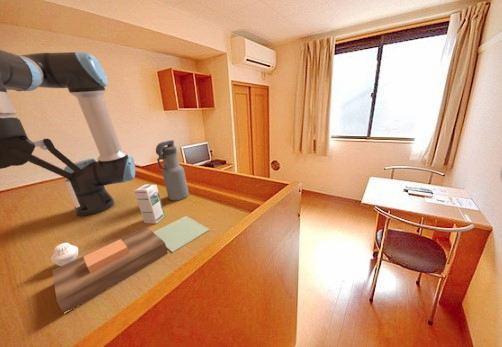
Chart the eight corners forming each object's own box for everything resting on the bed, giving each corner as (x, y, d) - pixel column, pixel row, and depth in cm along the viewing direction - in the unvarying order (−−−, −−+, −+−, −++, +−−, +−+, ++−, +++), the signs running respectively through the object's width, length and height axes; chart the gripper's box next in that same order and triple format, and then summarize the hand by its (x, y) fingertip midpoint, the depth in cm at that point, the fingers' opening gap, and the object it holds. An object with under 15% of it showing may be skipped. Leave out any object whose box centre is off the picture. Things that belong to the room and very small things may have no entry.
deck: (58, 282, 53) (52, 270, 51) (149, 236, 69) (146, 226, 68) (64, 315, 44) (56, 301, 42) (167, 253, 60) (164, 242, 59)
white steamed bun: (75, 254, 63) (67, 236, 61) (86, 258, 61) (78, 239, 59) (51, 268, 58) (41, 249, 56) (62, 273, 56) (52, 253, 53)
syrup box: (156, 223, 77) (147, 189, 72) (143, 223, 78) (133, 189, 73) (165, 216, 82) (157, 183, 77) (153, 215, 83) (144, 183, 78)
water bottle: (176, 203, 93) (163, 144, 84) (164, 199, 98) (149, 143, 89) (193, 194, 101) (182, 139, 92) (180, 191, 106) (169, 139, 97)
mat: (151, 233, 70) (151, 233, 70) (186, 216, 80) (186, 215, 80) (172, 252, 60) (172, 251, 60) (209, 230, 69) (209, 229, 69)
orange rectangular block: (85, 262, 53) (83, 256, 53) (122, 244, 59) (120, 238, 59) (90, 273, 49) (87, 267, 49) (129, 252, 55) (127, 247, 55)
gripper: (-170, 127, 25) (-69, 259, 32) (77, 111, 42) (108, 200, 49) (-138, 127, 30) (-56, 242, 37) (72, 113, 47) (101, 193, 54)
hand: (38, 218), depth 43 cm, fingers open, 13 cm apart
